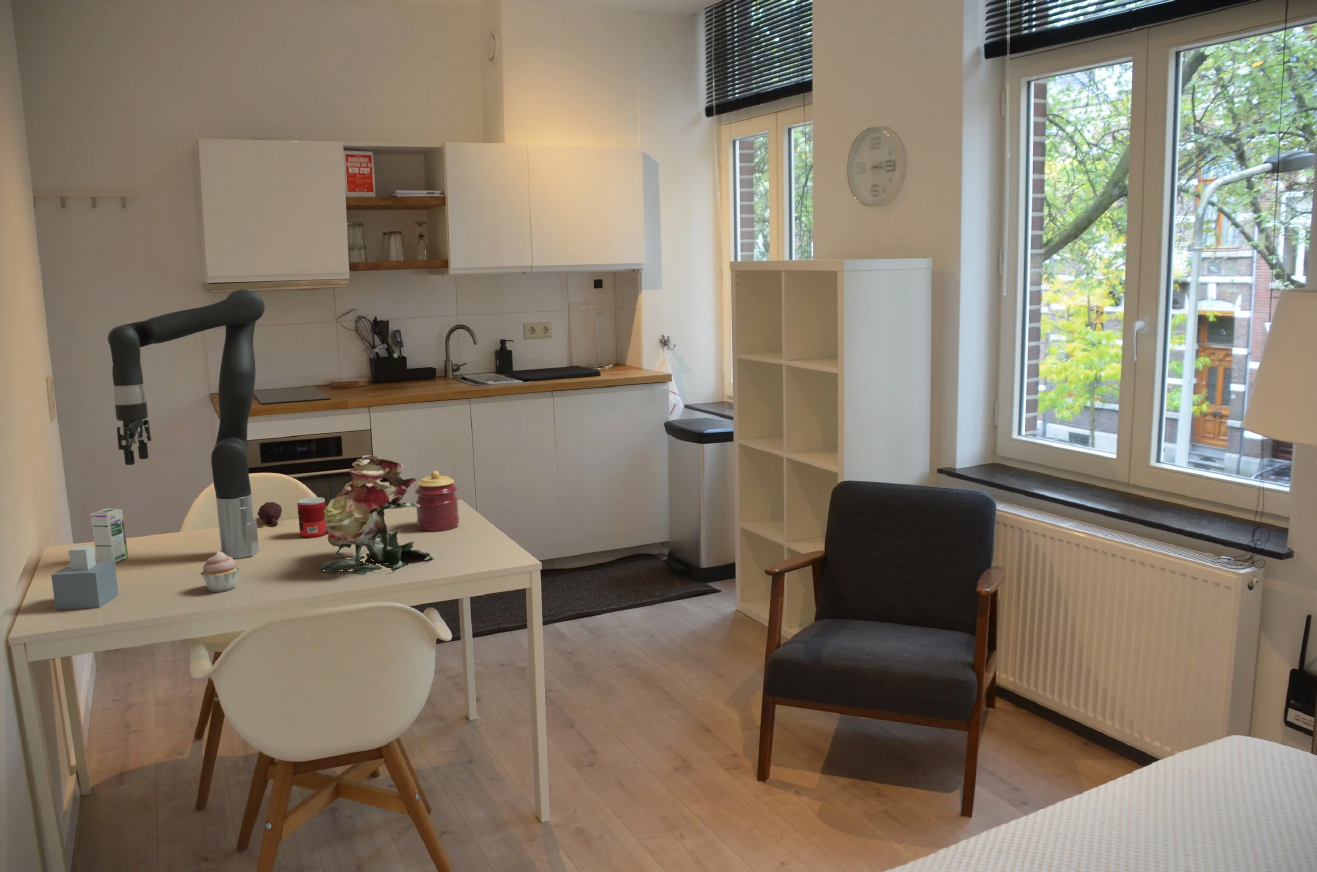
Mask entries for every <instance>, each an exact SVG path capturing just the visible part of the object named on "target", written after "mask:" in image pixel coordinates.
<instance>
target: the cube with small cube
mask: <svg viewBox="0 0 1317 872" xmlns="http://www.w3.org/2000/svg"><path fill="white" fill-rule="evenodd" d="M68 556H69V564H68V565H65V566H64V567H62V568H60V569H59V570H56V572H53V573H52V574H51V575H50V576H51V582H52V593H53V600H54V608H55V610H56V611H57V610H60V611H61V610H78V609H79V610H81V609H98V608H99V609H100V608H101V607H103V606H104V605H106V604H107V603H108V602H110V601H111V600H112V598H113V599H114V598H115V597H117V596H118V595H119V588H118V586H119V585H118V579H117V578H118V577H117V571H116V569H117V568H116V563H115V561H97V560H96V552H95V544H94V545H93V544H91V545H87V544H86V545H76V546H73V547H72V548H70V549H69V550H68Z"/></svg>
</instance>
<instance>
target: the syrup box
mask: <svg viewBox="0 0 1317 872" xmlns="http://www.w3.org/2000/svg"><path fill="white" fill-rule="evenodd" d="M90 519H91V520H90V521H91V526H92V527H91V528H92V535H93V541H94V551H95V559H96V561H115V564H116V563H117V562H120V561H122V559H123V560H125V559H128V558H129V552H128V551H129V550H128V545H127V537H126V529H125V523H124V515H123V509H122V508H114V507H113V508H112V507H111V508H110V507H109V508H103V509H102V510H98V511H95V512H91V513H90Z"/></svg>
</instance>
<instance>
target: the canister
mask: <svg viewBox="0 0 1317 872" xmlns="http://www.w3.org/2000/svg"><path fill="white" fill-rule="evenodd" d="M454 483H455V479H452V477H450V476H447V475H440V473H439V471H438V470H433V471H432V472H431V474H430V476H426V477H423V478H421V480H418V482H417V483H416V484H417V488H416V489H415V490H414V493H415V494H416V500H415V504H417V505H420V507H415V508H416V525H417V528H418V529H419V530H421V531H426V532H441V531H447V530H452V529H455V528H458V527H459V525H460V516H459V515H460V514H459V503H458V502H459V501H458V500H459V498H458V496H457V491H458V486H456V485H454Z"/></svg>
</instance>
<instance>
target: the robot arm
mask: <svg viewBox="0 0 1317 872" xmlns="http://www.w3.org/2000/svg"><path fill="white" fill-rule="evenodd" d="M265 307H266V306H265V302H264V299H262V297H261V296H260V295H259V294H258V293H257V292H255V291H253V290H249V289H245V288H240V289H235V290H233V291H232V292H230V294H229V295H228V296H227V297H226V298H225V299H223V300H221V301H218V302H215V303H212V304H208V305H205V306H204V305H203V306H200V307H195V308H188V309H182V310H178V311H173V312H168V313H164V314H161V315H157V316H153V317H150V318H148V319H145V320H142V321H135V322H130V323H127V324H126V323H125V324H121V325H117V326H115V327H113V328H112V329H111V330H110V331H109V332H108V335H107V342H108V344H109V347H110V348H109V349H110V352H111V353H110V354H111V360H112V366H111V367H112V368H111V369H112V370H111V372H112V373H111V374H112V381H113V382H112V383H113V401H114V402H113V403H114V409H115V418H116V420H117V421H118V422H119V421H120V422H122V426H117V427H116V436H117V446H118V450H119V451H122V452H123V457H124V464H125V466H133V465H135V463H136V461H135V452H134V448H135V445H136V444H137V445H138V446H137V449H138V452H137V453H138V458H139V459H140V460H147V459H149V458H150V457H149V449H148V448H149V447H148V445H149V444H150V443H149V442H151V441H152V435H151V430H150V429H151V428H150V422H149V419H148V417H149V412H148V405H147V404H148V403H147V395H146V394H147V393H146V389H145V385H144V377H143V370H142V366H141V365H142V364H141V348H144V347H147V346H149V345H156V344H162V343H165V342H171V341H174V340H178V339H182V338H184V337H188V336H191V335H194V334H197V333H202V332H203V331H207V330H211V329H215V328H220V327H225V337H224V344H223V350H222V356H221V361H220V368H219V369H220V370H219V380H218V391H217V392H218V394H217V395H218V408H219V427H218V431H217V435H216V442H215V444H214V448H213V450H212V452H211V456H210V461H211V472H212V478H213V479H212V480H213V488H214V491H215V502H216V511H217V521H218V522H217V523H218V531H219V540H220V552H222V553H224V554H225V555H226V556H229V557H231V558H233V559H234V560H235V559H242V558H243V559H244V558H247V557H248V558H249V557H254V555H256V554H257V553H258V552H260V547H259V536H258V525H257V519H256V518H254V511H253V500H252V499H253V498H252V488H251V481H250V473H249V464H248V459H249V448H248V424H249V423H248V422H249V416H250V413H251V409H252V404H253V399H254V392H255V384H256V374H257V373H256V372H257V371H256V370H257V369H256V359H255V358H256V357H255V352H254V351H255V349H254V335H255V328H256V322H257V321H258V320H260V319H261V318H262V316H263V315H264V314H265Z"/></svg>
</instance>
